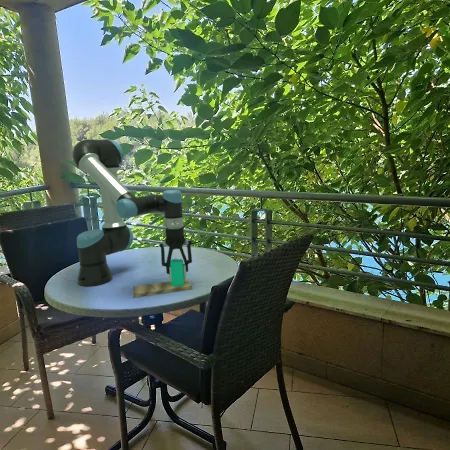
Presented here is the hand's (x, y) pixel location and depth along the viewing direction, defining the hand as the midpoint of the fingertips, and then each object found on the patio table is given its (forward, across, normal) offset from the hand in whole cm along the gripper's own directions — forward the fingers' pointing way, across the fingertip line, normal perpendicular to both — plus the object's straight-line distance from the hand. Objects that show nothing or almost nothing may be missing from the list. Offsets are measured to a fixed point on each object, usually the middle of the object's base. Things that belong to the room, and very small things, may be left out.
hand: (178, 279), depth 145 cm
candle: (+2, 0, 0) cm, 2 cm away
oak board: (+3, -7, 0) cm, 8 cm away
